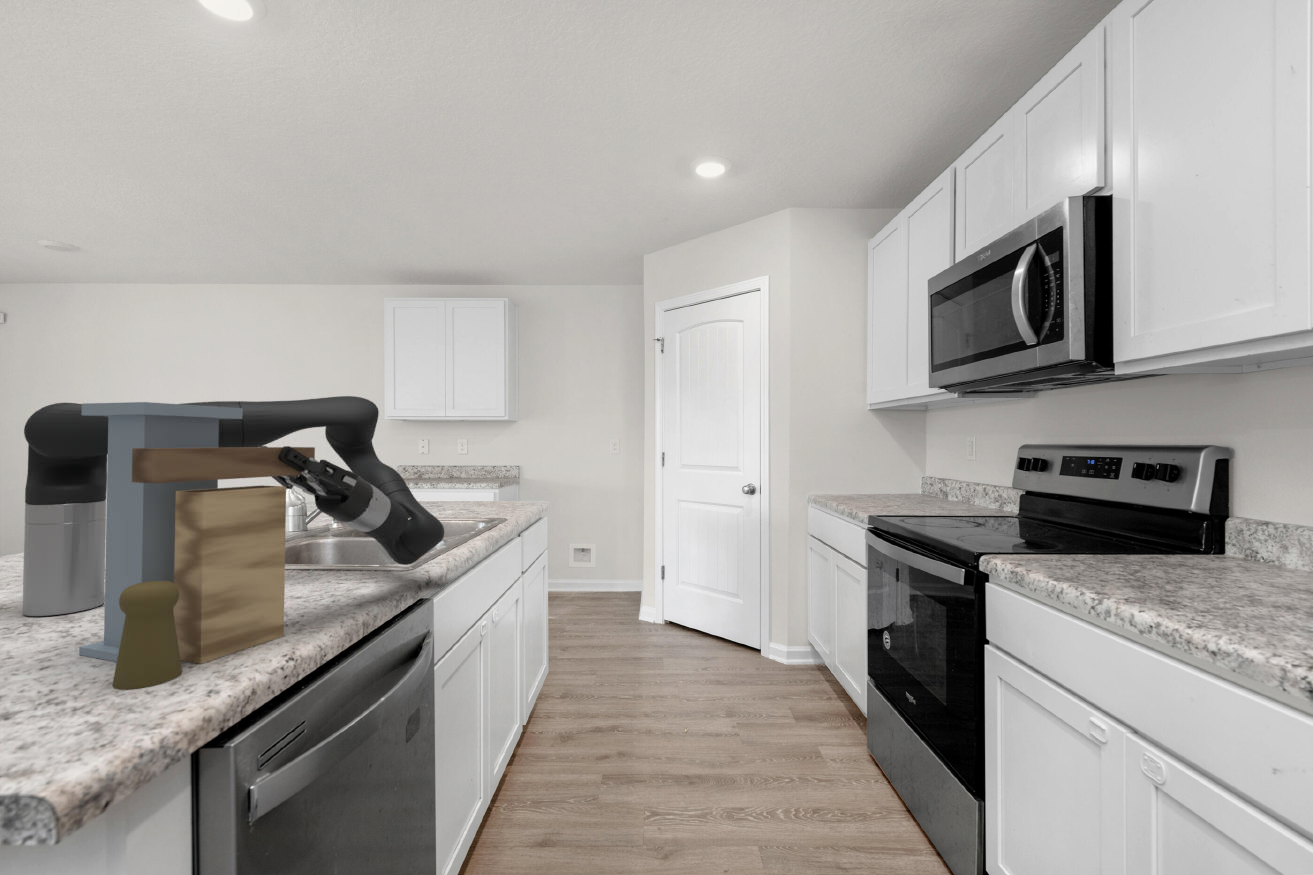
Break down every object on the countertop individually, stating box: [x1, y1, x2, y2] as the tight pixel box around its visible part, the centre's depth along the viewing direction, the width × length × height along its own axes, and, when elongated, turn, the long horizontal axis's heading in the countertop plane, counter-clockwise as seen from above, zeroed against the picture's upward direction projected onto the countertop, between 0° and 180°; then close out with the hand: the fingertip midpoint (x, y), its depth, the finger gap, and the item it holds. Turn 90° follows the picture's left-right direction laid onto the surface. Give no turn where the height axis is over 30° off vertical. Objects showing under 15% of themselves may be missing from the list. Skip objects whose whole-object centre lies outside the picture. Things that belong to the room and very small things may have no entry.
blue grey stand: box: [78, 401, 243, 663], centre depth 78 cm, size 12×12×32 cm
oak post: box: [174, 485, 287, 665], centre depth 77 cm, size 5×11×21 cm, turn 162°
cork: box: [112, 581, 183, 690], centre depth 67 cm, size 6×6×11 cm
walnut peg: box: [132, 446, 316, 483], centre depth 77 cm, size 4×21×4 cm, turn 162°
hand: (270, 451), depth 82 cm, fingers closed on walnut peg, 4 cm apart
